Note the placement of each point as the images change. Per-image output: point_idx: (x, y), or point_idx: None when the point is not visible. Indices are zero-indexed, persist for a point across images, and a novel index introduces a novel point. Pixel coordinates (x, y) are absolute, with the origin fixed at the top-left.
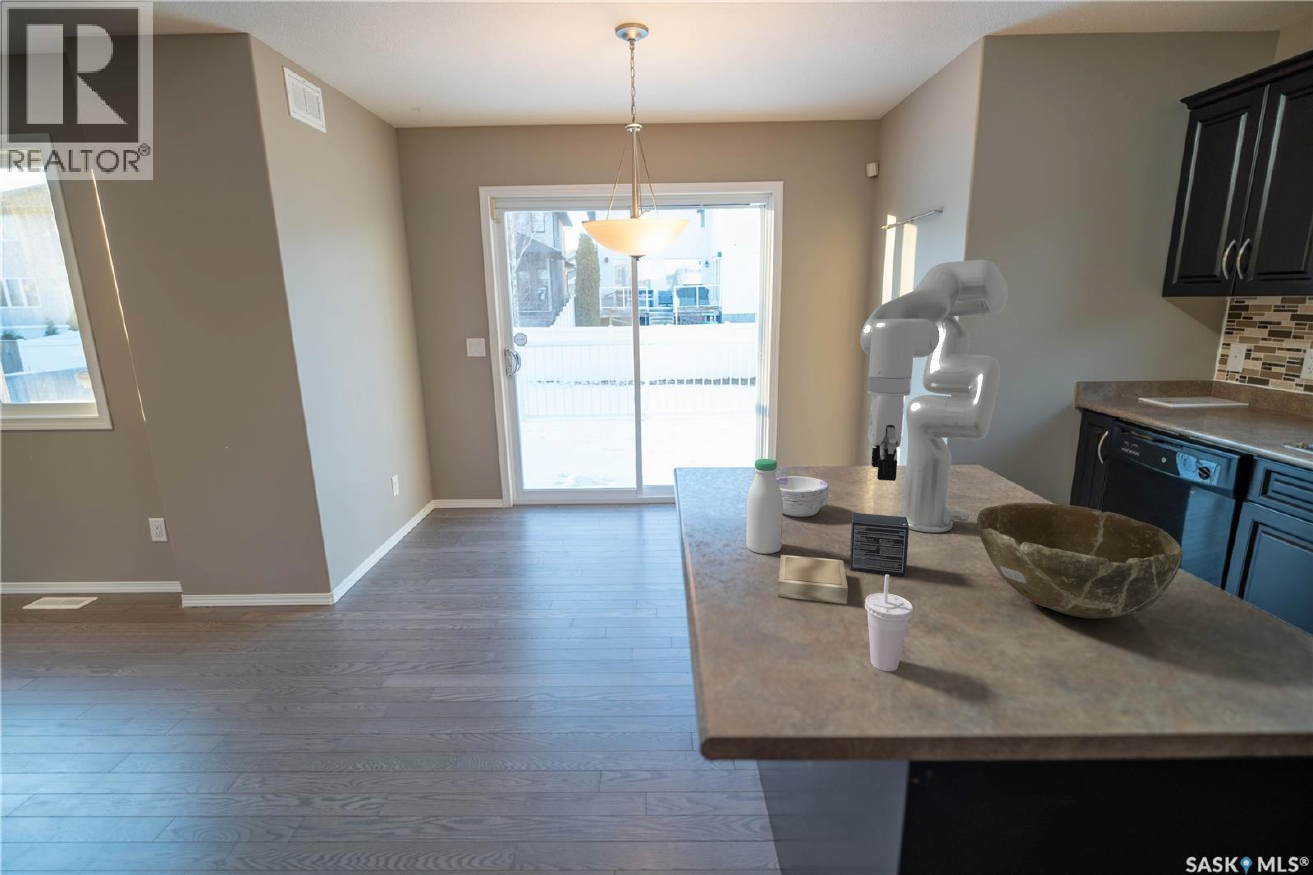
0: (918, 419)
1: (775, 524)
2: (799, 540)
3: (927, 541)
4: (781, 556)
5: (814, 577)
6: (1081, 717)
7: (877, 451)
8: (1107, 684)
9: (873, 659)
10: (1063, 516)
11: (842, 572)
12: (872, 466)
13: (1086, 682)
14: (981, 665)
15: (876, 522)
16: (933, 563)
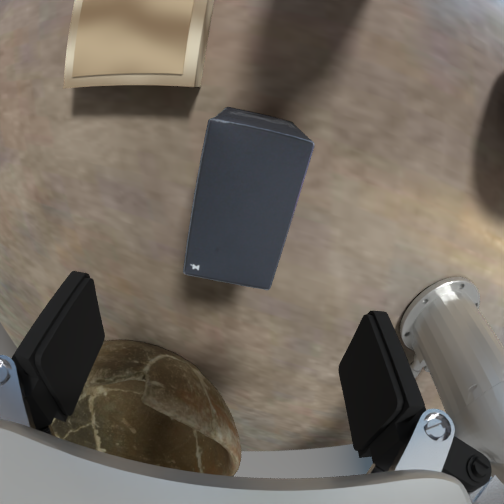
0: None
1: None
2: (395, 37)
3: (372, 300)
4: None
5: (94, 24)
6: None
7: (382, 406)
8: (25, 317)
9: None
10: (221, 463)
11: (126, 79)
12: (370, 312)
13: (19, 305)
14: (2, 232)
15: (203, 195)
16: (273, 280)
